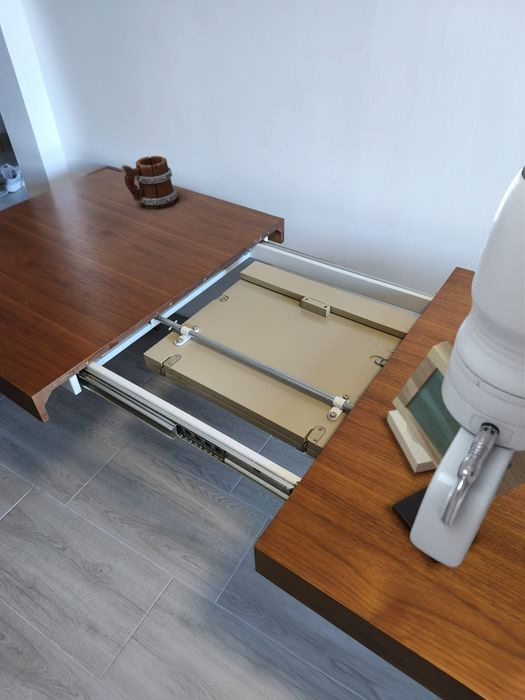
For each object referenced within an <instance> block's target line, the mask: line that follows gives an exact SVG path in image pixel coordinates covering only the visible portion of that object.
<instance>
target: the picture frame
mask: <svg viewBox="0 0 525 700" xmlns="http://www.w3.org/2000/svg"><path fill="white" fill-rule="evenodd" d="M452 349H453V345H452V344H451V343H450V341H448V340H445V341H442V342H439V343H437V344H435V345H433V346H432V347H431V349H430V350H429V351H428V353H427V354H426V355H425V357H424V358H423V360H422V361H421V362H420V363H419V365H418V366H417V367H416V368H415V370H414V371H413V372H412V374H411V376H410V377H409V378H408V380H407V381H406V383H405V384H404V385H403V386H402V388H401V389H400V391H399V392H398V393H397V395H396V396H395V397H394V399H393V400H392V401H391V403H392V405H393V406H394V408H395V410H398V412H399V413H400V415H401V416H402V418H403V419H404V421H405V422H406V423H407V425H408V426H409V428H410V429H411V431H412V432H413V434H414V435H415V437H416V438H417V440H418V441H419V442H420V444H421V445H422V447H423V448H424V450H425V451H426V453H427V454H428V456H429V457H430V459H431V460H432V461H433V463H434V464H435V466H436V467H438V465H439V464H440V462H441V460H442V458H443V457H444V455H445V453H446V452H447V450H448V448H449V446H450V445H451V443H452V441H453V440H454V438H455V436H456V434H457V433H458V431H459V429H460V427H461V425H460V424H459V422H458V421H457V420H456V419H455V418H454V417H453V416H452V415H451V413H450V412H449V410H448V409H447V407H446V405H445V403H444V400H443V397H442V383H443V379H444V376H445V372H446V369H447V366H448V362H449V359H450V356H451V352H452ZM523 484H525V450H523V451H515V452H514V454H513V456H512V459H511V461H510V463H509V465H508V467H507V470H506V472H505V474H504V476H503V478H502V481H501V483H500V485H499V487H498V489H497V492H496V494H495V496H494V498H493V500H492V501H494V500H496V499H497V498H499V497H501V496H503V495H505V494H507V493H508V492H510V491H512V490H514V489H516V488H517V487H519V486H521V485H523Z"/></svg>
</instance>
